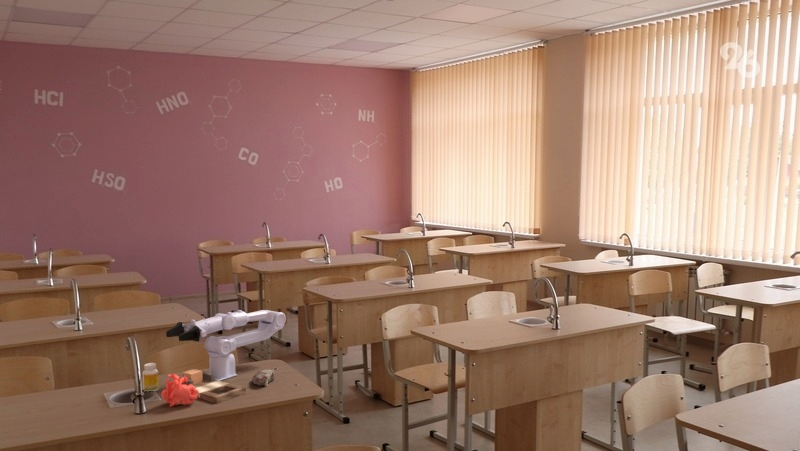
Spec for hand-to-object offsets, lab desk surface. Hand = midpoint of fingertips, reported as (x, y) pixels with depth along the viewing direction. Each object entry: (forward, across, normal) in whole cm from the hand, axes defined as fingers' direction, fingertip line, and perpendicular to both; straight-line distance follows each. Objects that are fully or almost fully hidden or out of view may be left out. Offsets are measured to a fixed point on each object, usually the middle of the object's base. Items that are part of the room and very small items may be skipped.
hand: (172, 336), depth 246 cm
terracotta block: (-5, +3, +18) cm, 19 cm away
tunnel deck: (-5, +10, +20) cm, 23 cm away
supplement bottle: (+6, -7, +20) cm, 22 cm away
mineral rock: (-25, +19, +21) cm, 38 cm away
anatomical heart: (+9, +15, +19) cm, 26 cm away
